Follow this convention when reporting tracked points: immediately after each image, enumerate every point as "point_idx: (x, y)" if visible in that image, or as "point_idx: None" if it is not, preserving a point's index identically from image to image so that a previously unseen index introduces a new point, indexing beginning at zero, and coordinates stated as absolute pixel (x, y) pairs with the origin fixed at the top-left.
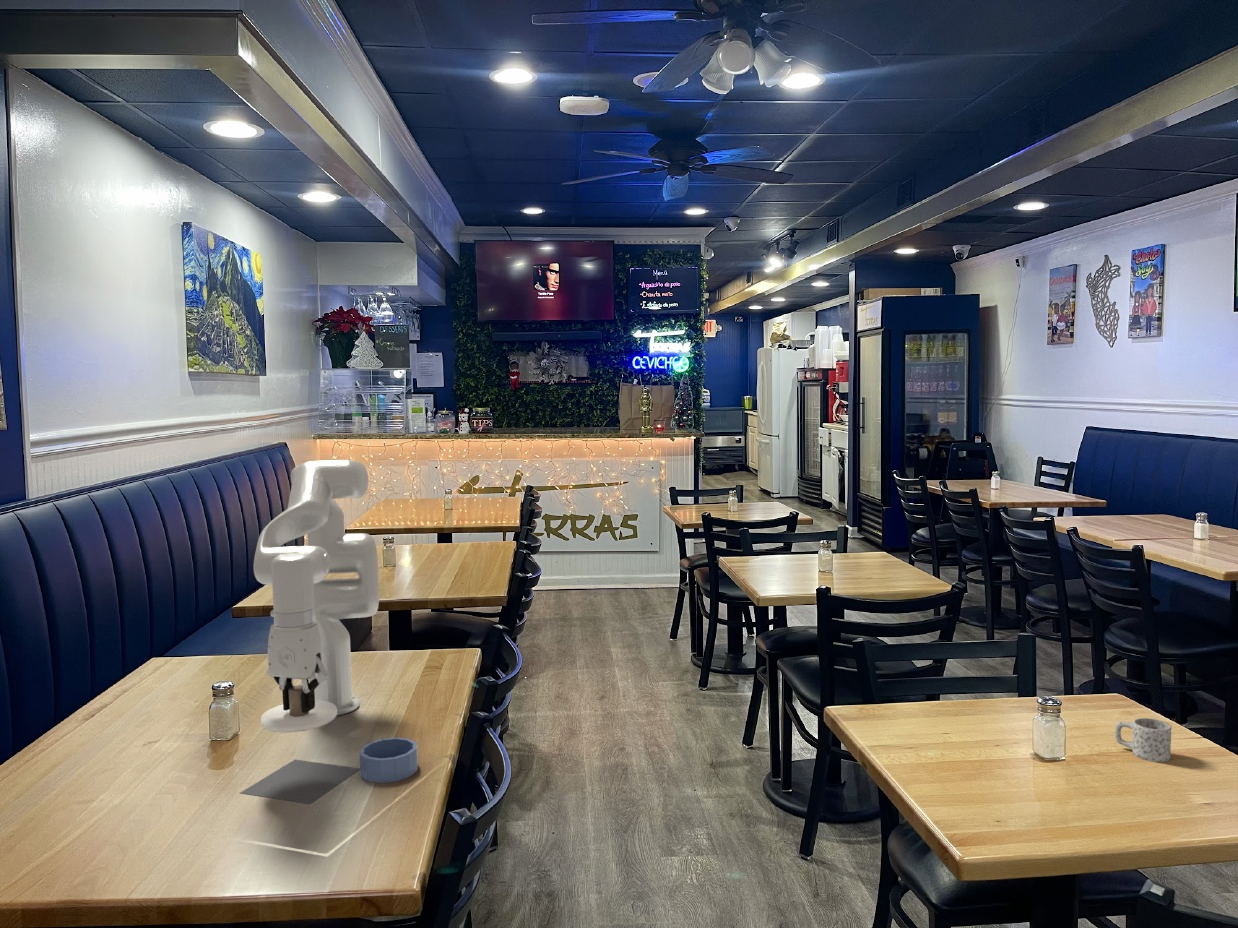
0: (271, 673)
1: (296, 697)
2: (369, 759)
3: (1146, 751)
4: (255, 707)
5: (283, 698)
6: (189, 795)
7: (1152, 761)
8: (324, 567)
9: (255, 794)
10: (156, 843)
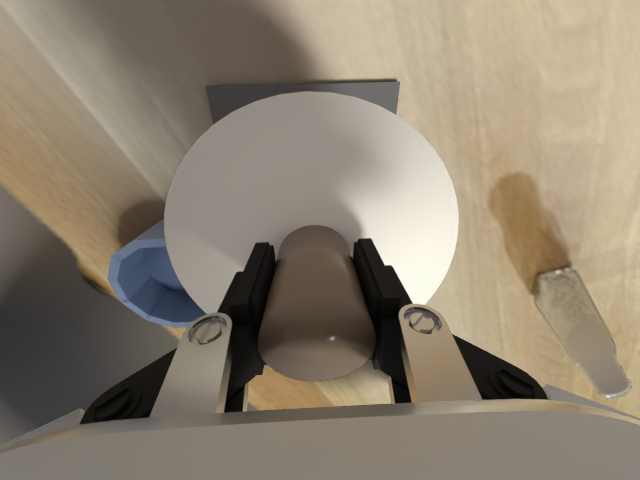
0: (636, 430)
1: (288, 279)
2: (160, 238)
3: None
4: (542, 358)
5: (381, 267)
6: (516, 38)
7: None
8: None
9: (359, 86)
10: None
